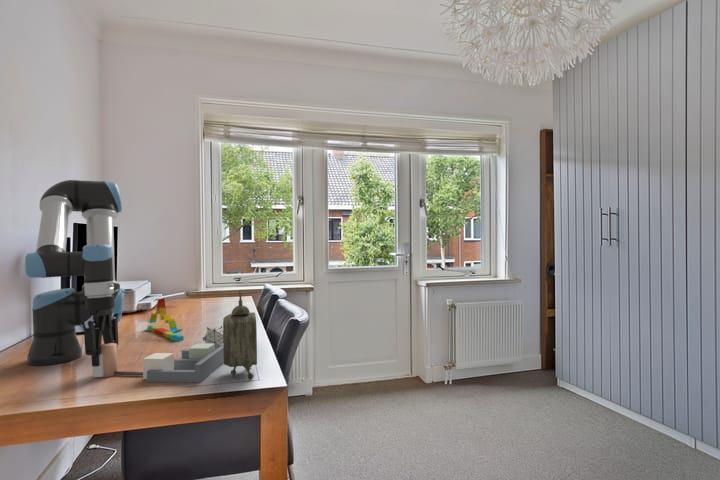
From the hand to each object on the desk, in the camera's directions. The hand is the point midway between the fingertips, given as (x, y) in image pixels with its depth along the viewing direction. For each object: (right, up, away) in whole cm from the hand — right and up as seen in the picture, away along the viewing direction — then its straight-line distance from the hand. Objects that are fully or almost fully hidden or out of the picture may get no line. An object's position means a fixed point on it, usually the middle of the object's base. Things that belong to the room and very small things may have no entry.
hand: (104, 373), depth 127 cm
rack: (+24, 0, +4) cm, 24 cm away
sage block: (+26, 0, +10) cm, 28 cm away
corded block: (+10, 0, -1) cm, 10 cm away
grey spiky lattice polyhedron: (+24, 0, +27) cm, 36 cm away
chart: (-5, 0, +50) cm, 51 cm away
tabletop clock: (+41, 0, -1) cm, 41 cm away
